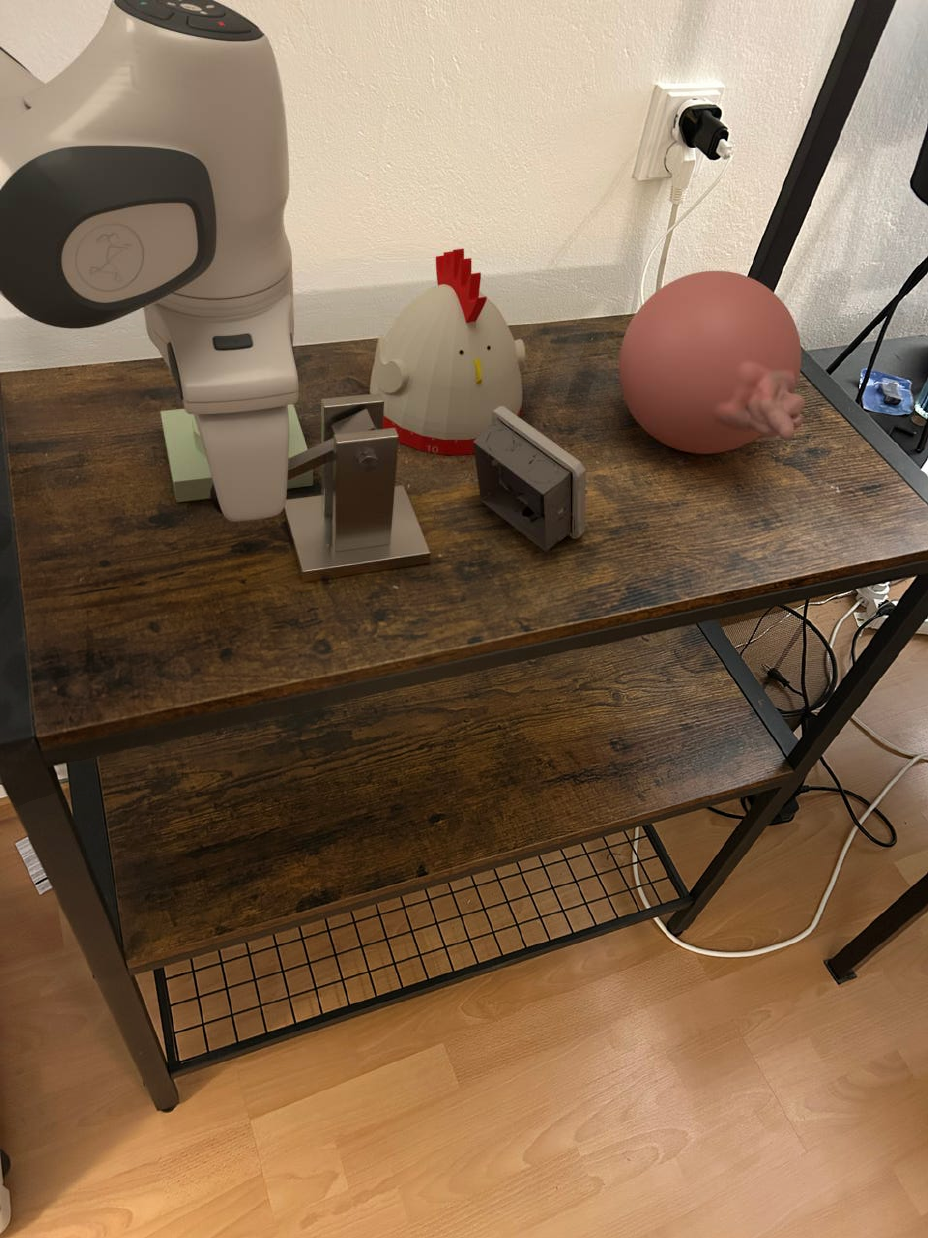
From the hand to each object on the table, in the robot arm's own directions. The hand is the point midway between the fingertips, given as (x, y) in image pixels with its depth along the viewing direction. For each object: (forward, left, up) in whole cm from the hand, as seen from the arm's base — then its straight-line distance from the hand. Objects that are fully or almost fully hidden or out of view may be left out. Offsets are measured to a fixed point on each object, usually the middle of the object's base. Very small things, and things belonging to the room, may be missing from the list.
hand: (236, 477), depth 69 cm
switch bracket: (+9, 0, -8) cm, 12 cm away
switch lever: (+5, 0, -1) cm, 5 cm away
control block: (+1, +11, -8) cm, 13 cm away
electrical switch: (+23, -1, -8) cm, 24 cm away
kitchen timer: (+21, +15, -8) cm, 27 cm away
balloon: (+42, +5, -8) cm, 43 cm away
